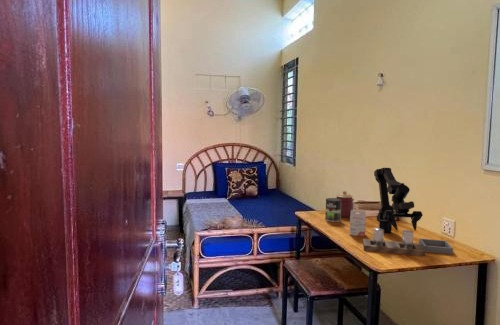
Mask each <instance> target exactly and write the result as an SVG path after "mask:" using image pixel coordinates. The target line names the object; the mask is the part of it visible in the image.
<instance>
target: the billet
mask: <svg viewBox="0 0 500 325" xmlns="http://www.w3.org/2000/svg"><path fill="white" fill-rule="evenodd" d="M372 230H373V231H372V240H373V245H377V246H383V241H384V236H385V235H384V234H385V233H384V229H382V228H379V227H373V229H372Z"/></svg>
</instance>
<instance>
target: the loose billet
mask: <svg viewBox="0 0 500 325" xmlns="http://www.w3.org/2000/svg"><path fill="white" fill-rule="evenodd" d="M401 235H402V236H401V242H402V248H409V249H413V243H414V231H412V230H409V229H405V230H404V229H403V230H402V234H401Z"/></svg>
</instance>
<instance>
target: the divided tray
mask: <svg viewBox="0 0 500 325" xmlns="http://www.w3.org/2000/svg"><path fill="white" fill-rule="evenodd" d="M362 241H363V242H362V245H363V246H362V248H363V251H366V252H376V253H386V254H387V253H388V254H397V255H406V256H417V257H426V252H425V251H424V249H423V247H422V246H421V244H419V243H415V242H413V249H409V248H402V241H393V240H383V246H377V245H373V238H372V239H369V238H363V239H362Z"/></svg>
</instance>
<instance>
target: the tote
mask: <svg viewBox="0 0 500 325" xmlns="http://www.w3.org/2000/svg"><path fill="white" fill-rule="evenodd" d="M418 244H421V246H422V247H423V249H424V251H425V253H433V254H436V253H437V254H443V255H453V254H454V248H453V247H452V246H451V245H450V243H449V242H448V241H447V240H443V239H430V238H429V239H428V238H418Z"/></svg>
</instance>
